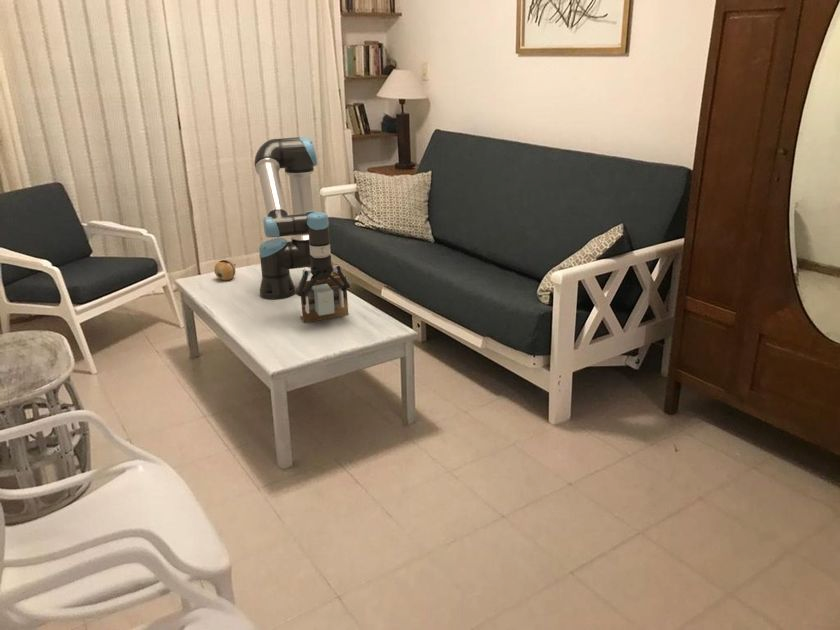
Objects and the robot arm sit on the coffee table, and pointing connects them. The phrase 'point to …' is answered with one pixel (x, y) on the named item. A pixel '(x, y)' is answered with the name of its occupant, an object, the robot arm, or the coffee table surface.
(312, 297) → the brown wooden rack
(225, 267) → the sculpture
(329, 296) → the grey-green box
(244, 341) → the coffee table surface
